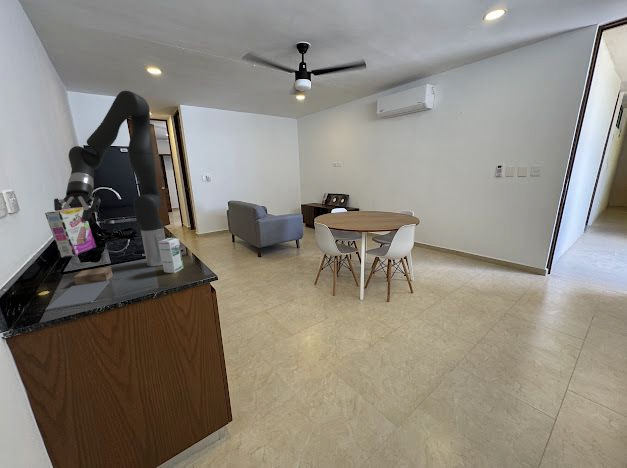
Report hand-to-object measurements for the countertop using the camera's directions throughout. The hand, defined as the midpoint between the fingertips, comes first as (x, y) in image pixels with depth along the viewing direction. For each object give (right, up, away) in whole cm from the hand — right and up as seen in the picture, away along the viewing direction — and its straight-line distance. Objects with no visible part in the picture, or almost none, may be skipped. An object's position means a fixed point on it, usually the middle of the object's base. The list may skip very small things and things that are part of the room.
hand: (74, 220), depth 94 cm
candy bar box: (+1, -12, +1) cm, 12 cm away
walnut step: (-1, -24, +10) cm, 26 cm away
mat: (+4, -27, -2) cm, 28 cm away
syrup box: (+26, -22, +20) cm, 39 cm away
